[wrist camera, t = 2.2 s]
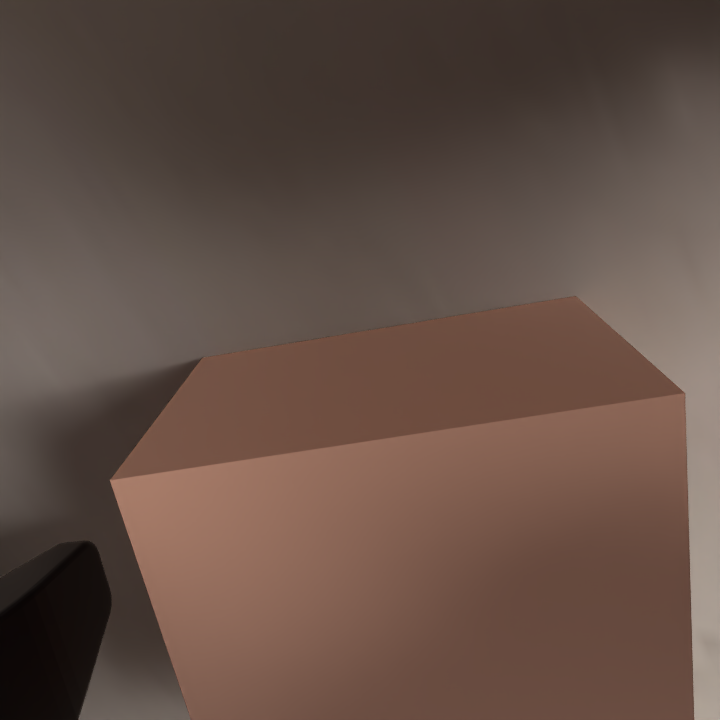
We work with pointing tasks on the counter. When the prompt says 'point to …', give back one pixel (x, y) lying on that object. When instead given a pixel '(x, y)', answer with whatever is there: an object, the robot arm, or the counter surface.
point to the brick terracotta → (422, 525)
